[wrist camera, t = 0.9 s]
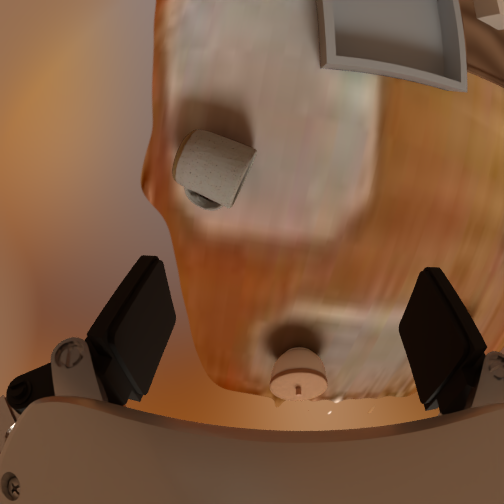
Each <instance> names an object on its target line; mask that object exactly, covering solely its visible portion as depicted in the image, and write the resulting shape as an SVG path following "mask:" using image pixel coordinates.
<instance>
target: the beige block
mask: <svg viewBox="0 0 504 504" xmlns="http://www.w3.org/2000/svg"><path fill="white" fill-rule="evenodd" d="M473 2H474V7H475V12H476V17H477V19H479V20H481V21H483V22H485V23H486V24H488V25H490V26H492V27H494V28H495V29H497V30H503V29H504V0H473Z"/></svg>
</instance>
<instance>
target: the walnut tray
mask: <svg viewBox="0 0 504 504" xmlns="http://www.w3.org/2000/svg"><path fill="white" fill-rule="evenodd" d="M458 1H459V6H460V12H461V17H462V24H463V31H464V39H465V50H466V64H467V72H469V73H472V74H474V75H477V76H479V77H481V78H484V79H486V80H488V81H490V82H493V83H495V84H497V85H499V86H501V87H503V88H504V29H503V30H497V29H495V28H494V27H492V26H490V25H488V24H486V23H485V22H483V21H481V20H479V19H477V17H476V12H475V7H474V2H473V0H458Z"/></svg>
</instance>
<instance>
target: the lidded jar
mask: <svg viewBox="0 0 504 504" xmlns="http://www.w3.org/2000/svg"><path fill="white" fill-rule="evenodd" d="M327 386H328V385H327V378H326V371H325V367H324V364H323V362H322V360H321V359H320V357H319V356H318V355H317V354H315V353H314V352H312V351H311V350H309V349H307V348H304V347H295V348H291V349H289V350H287V351H286V352H285V353H284V354H282V355H281V356H280V357H279V358H278V359H277V361H276V362H275V364H274V367H273V370H272V374H271V381H270V390H271V392H272V393H273V394H274V395H276V396H277V397H279V398H282V399H285V400H291V401H301V400H308V399H312V398H315V397H317V396H319V395H321V394H322V393H323V392H324V391H325V390H326V388H327Z"/></svg>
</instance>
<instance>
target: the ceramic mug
mask: <svg viewBox="0 0 504 504" xmlns="http://www.w3.org/2000/svg"><path fill="white" fill-rule="evenodd" d="M256 153H257V150H256V149H254V148H252V147H249V146H246V145H244V144H241V143H239V142H236V141H234V140H231V139H228V138H225V137H223V136H220V135H217V134H215V133H212V132H209V131H204V130H194V131H192V132H190V133H189V134H188V135H187V136H186V137H185V139H184V140H183V142H182V143H181V145H180V147H179V149H178V151H177V154H176V156H175V159H174V163H173V169H172V174H173V178H174V180H175V181H176V182H177V183H179V184H180V185H182V186H184V187H185V188H184V189H185V193H186V195H187V197H188V198H189V199H190V201H191V202H193V203H194V204H195V205H197V206H199V207H200V208H203V209H205V210H210V211H213V210H217V209H220V208H221V207H223V206H225V207H227V208H231V207H232V206H233V204H234V202H235V200H236V198H237V196H238V194H239V192H240V190H241V188H242V186H243V184H244V181H245V179H246V177H247V175H248V173H249V170H250V168H251V166H252V164H253V161H254V159H255V156H256ZM195 192H197V193H199V194H201V195H203V196H205V197H207V198H209V199H211V200H213V201H215V202H211V201H209V200H207V199H205V198H203V197H201V196H199V195H198V194H196V193H195Z"/></svg>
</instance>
